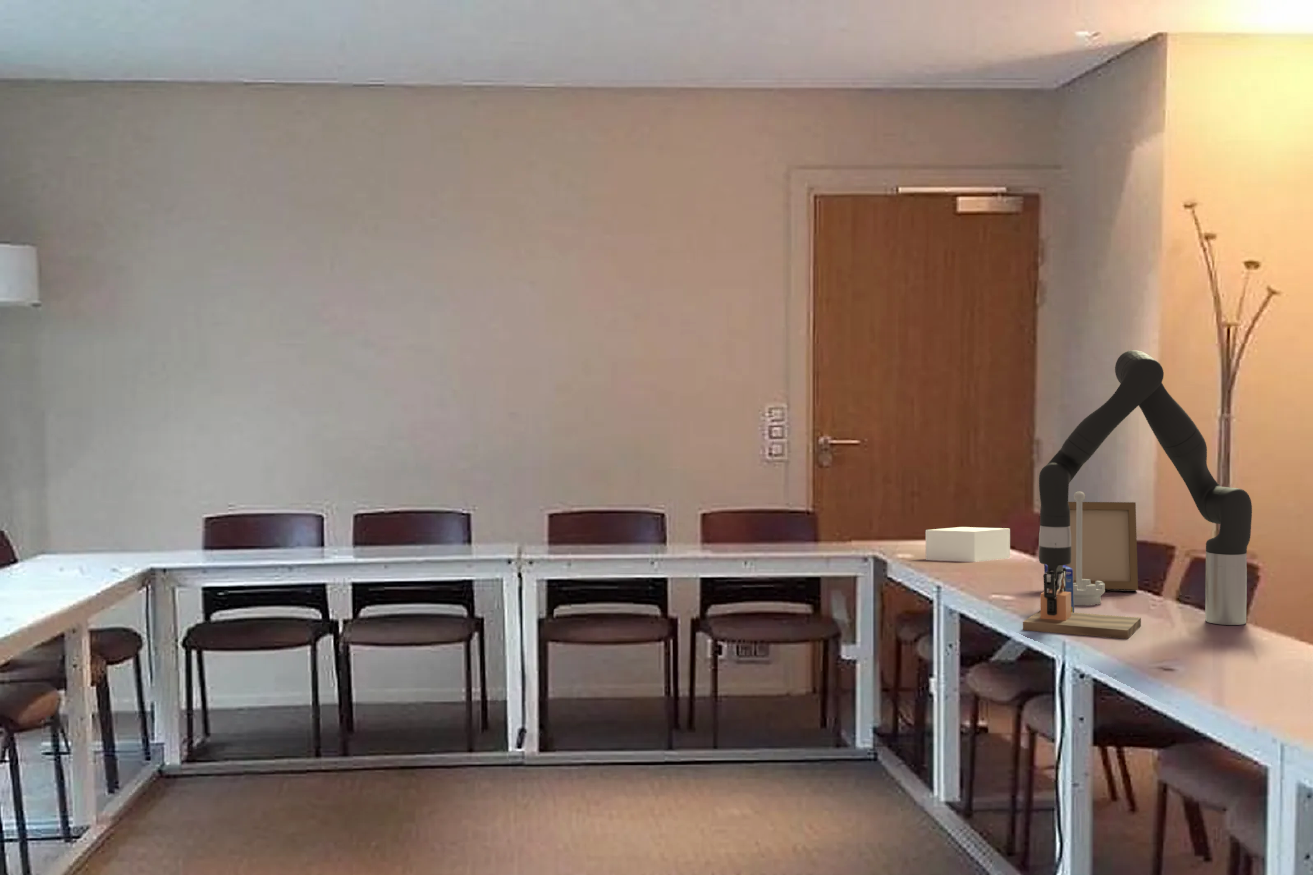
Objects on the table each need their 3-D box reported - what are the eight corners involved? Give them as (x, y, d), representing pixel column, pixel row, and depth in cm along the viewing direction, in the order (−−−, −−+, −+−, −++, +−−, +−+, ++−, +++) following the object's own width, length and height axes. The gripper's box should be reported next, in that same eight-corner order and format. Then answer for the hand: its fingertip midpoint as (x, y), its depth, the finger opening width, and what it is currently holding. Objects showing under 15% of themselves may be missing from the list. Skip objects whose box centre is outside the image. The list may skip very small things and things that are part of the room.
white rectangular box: (919, 557, 444) (919, 527, 443) (1002, 555, 446) (1002, 526, 445) (931, 563, 429) (931, 532, 429) (1017, 561, 431) (1017, 530, 431)
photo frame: (1137, 592, 364) (1138, 503, 363) (1056, 590, 369) (1056, 503, 368) (1131, 585, 378) (1131, 500, 377) (1053, 583, 383) (1053, 499, 383)
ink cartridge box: (1043, 609, 339) (1043, 554, 338) (1064, 610, 338) (1064, 554, 338) (1052, 616, 329) (1052, 559, 328) (1074, 616, 328) (1074, 559, 328)
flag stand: (1107, 606, 343) (1108, 493, 342) (1056, 605, 345) (1056, 493, 344) (1101, 598, 356) (1101, 489, 354) (1051, 597, 358) (1051, 489, 357)
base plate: (1040, 617, 327) (1040, 592, 327) (1140, 625, 315) (1141, 599, 315) (1022, 630, 311) (1022, 603, 311) (1127, 638, 299) (1127, 610, 299)
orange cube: (1040, 618, 315) (1040, 593, 315) (1046, 614, 321) (1046, 590, 320) (1065, 620, 312) (1065, 595, 312) (1071, 616, 318) (1071, 592, 317)
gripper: (1064, 548, 308) (1064, 618, 309) (1077, 541, 320) (1077, 609, 321) (1032, 547, 311) (1032, 616, 312) (1046, 540, 324) (1046, 607, 325)
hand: (1055, 612), depth 317 cm, fingers closed on orange cube, 6 cm apart
